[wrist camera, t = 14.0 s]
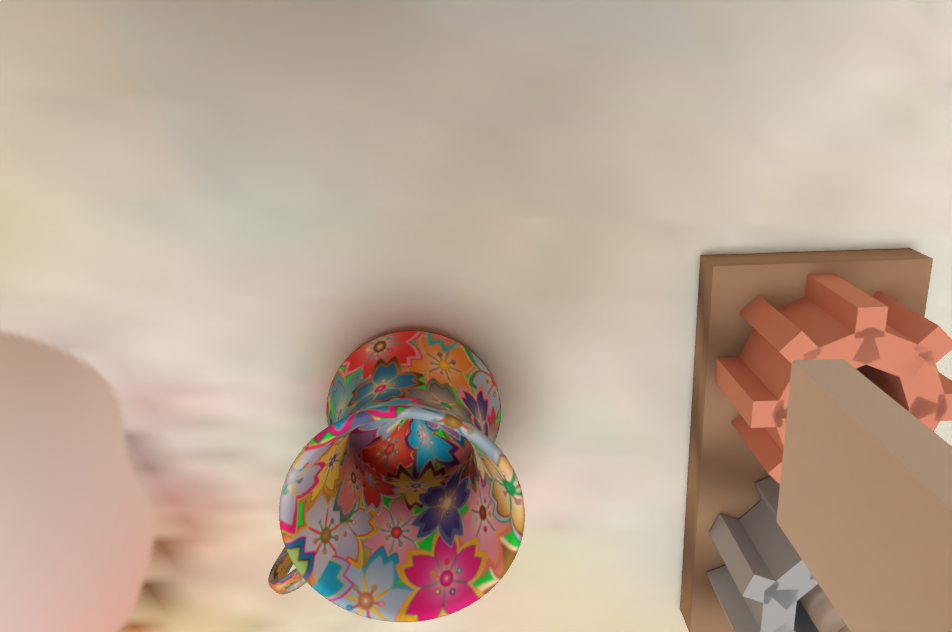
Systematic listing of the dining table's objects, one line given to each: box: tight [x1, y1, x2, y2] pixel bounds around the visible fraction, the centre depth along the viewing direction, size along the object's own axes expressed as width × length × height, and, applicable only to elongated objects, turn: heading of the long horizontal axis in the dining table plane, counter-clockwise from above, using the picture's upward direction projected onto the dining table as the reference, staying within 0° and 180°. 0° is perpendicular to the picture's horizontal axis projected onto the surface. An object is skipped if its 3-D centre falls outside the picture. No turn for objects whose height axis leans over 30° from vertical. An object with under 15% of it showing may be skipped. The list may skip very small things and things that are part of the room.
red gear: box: [715, 273, 952, 484], centre depth 37 cm, size 9×9×5 cm
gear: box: [707, 477, 819, 632], centre depth 40 cm, size 9×9×5 cm
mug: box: [268, 331, 525, 622], centre depth 37 cm, size 12×9×11 cm
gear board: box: [680, 248, 933, 632], centre depth 38 cm, size 20×10×10 cm, turn 2°
